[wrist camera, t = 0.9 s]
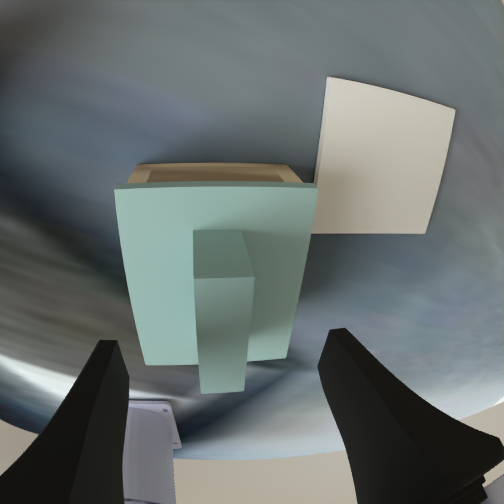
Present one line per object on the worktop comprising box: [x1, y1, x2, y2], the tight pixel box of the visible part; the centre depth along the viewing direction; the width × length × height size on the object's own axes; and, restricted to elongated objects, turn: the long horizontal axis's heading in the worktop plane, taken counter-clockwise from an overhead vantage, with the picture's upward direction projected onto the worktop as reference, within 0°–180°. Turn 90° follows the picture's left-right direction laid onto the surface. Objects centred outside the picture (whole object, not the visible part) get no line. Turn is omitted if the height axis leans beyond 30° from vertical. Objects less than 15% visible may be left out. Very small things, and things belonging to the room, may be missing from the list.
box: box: [127, 163, 303, 183], centre depth 15 cm, size 9×7×3 cm
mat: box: [311, 77, 455, 234], centre depth 15 cm, size 8×8×1 cm
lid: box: [114, 181, 319, 394], centre depth 12 cm, size 9×7×4 cm
